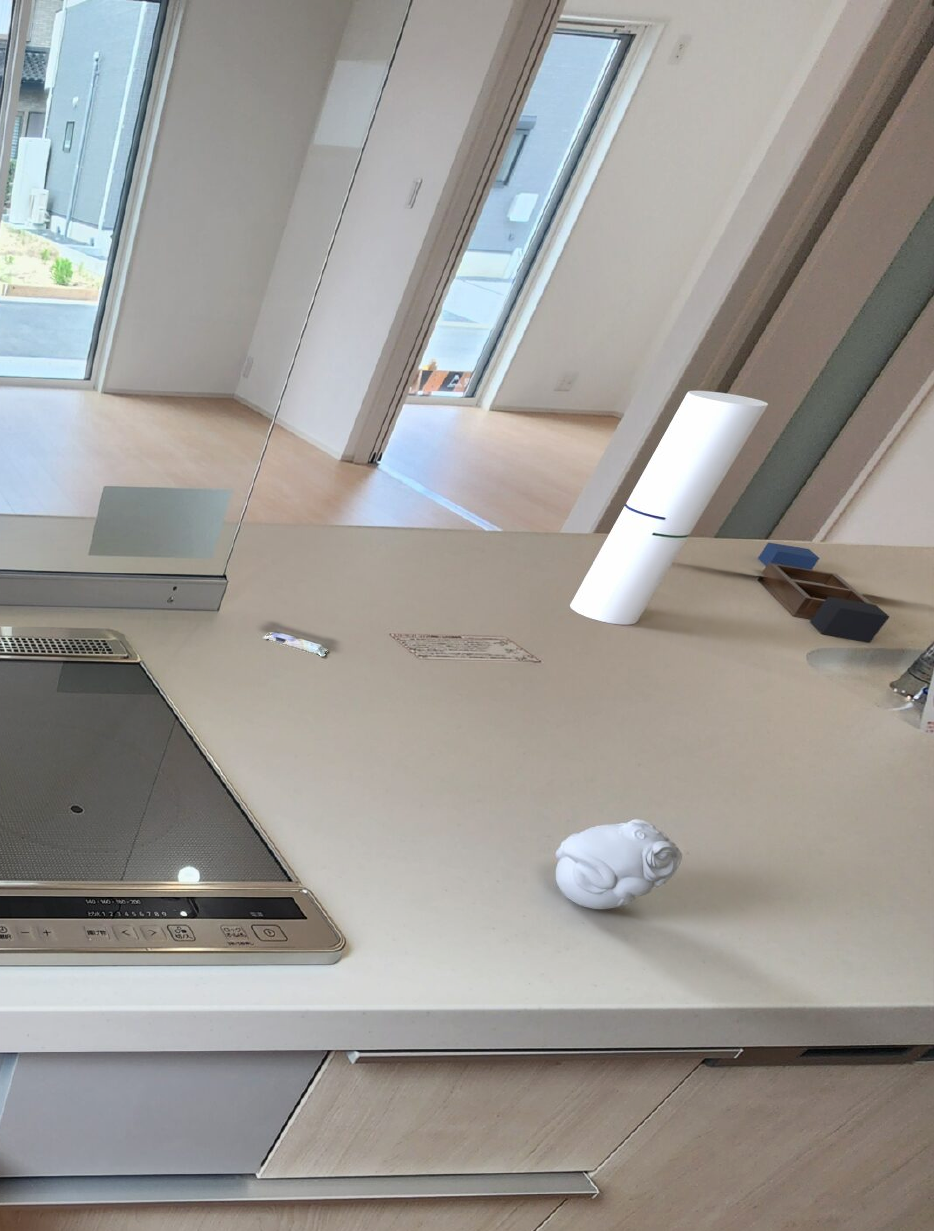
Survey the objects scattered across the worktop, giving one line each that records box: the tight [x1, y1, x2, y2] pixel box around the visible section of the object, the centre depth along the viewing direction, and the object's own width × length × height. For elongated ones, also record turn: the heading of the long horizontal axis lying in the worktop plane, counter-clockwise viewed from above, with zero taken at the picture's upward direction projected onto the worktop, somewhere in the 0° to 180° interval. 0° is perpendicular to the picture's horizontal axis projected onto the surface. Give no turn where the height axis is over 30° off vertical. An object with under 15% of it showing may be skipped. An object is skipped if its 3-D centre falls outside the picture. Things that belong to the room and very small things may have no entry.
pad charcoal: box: [809, 597, 891, 643], centre depth 117 cm, size 5×4×3 cm
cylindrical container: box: [569, 390, 769, 626], centre depth 111 cm, size 7×7×25 cm
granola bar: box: [262, 631, 328, 658], centre depth 106 cm, size 7×2×1 cm, turn 51°
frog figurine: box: [555, 818, 683, 910], centre depth 69 cm, size 6×7×7 cm
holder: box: [757, 563, 873, 620], centre depth 125 cm, size 8×14×2 cm, turn 155°
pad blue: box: [757, 542, 820, 570], centre depth 134 cm, size 5×4×3 cm
